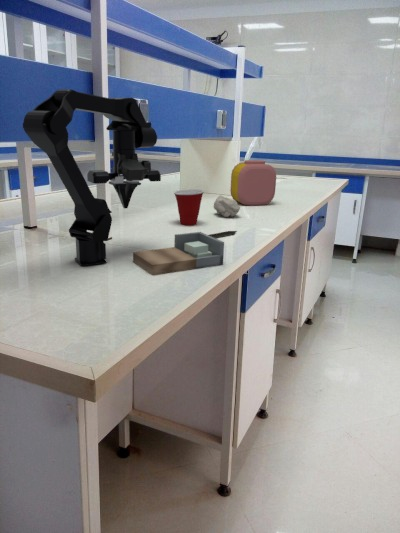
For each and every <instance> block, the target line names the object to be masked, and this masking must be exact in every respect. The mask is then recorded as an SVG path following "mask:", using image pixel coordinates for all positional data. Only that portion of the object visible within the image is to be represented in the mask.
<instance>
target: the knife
mask: <svg viewBox="0 0 400 533" xmlns="http://www.w3.org/2000/svg"><path fill="white" fill-rule="evenodd" d="M237 232H238V231H237V230H228V231H227V230H226V231H223V232H217V233H212V234H208V235H209V236H211V237H213V238H216V239H217V238H220V237H222V238H223V237H226V236H232V235H235V233H237Z"/></svg>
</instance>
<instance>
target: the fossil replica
mask: <svg viewBox="0 0 400 533" xmlns="http://www.w3.org/2000/svg"><path fill="white" fill-rule="evenodd" d="M213 209H214V210H215V211H216V213H217V214H218V215H219V216H220V215H221V216H222V217H225V218H229V217H231V218H232V217H235V216H237V214H238V213H239V211H240V210H241V206H240V205H238V202H237V201H235V200H234V199H233V198H230V197H225V196H223V195H218V196H217V197H216V199H215V200H214V203H213Z"/></svg>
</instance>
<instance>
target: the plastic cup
mask: <svg viewBox="0 0 400 533" xmlns="http://www.w3.org/2000/svg"><path fill="white" fill-rule="evenodd" d="M204 192H205V190H203V189H192V188H191V189H179V190H176V191H173V195H174V197H175V199H176V204H177V211H178V215H179V222H180V225H183V226H195V225H197V223H198V219H199V218H198V217H199V214H200V208H201V203H202V199H203V198H202V197H203V194H204Z"/></svg>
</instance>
